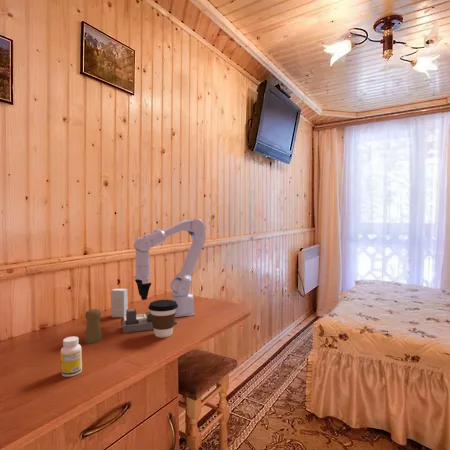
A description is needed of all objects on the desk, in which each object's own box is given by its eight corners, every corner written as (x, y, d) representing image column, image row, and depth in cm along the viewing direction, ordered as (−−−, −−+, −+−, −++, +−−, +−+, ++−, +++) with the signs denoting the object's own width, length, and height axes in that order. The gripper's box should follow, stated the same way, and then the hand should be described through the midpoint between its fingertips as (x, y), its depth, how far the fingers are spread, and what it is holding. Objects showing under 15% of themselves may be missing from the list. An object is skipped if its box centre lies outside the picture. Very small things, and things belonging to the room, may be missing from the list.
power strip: (175, 320, 138) (175, 307, 138) (179, 326, 132) (178, 312, 131) (122, 327, 131) (122, 313, 131) (123, 332, 124) (123, 318, 124)
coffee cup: (183, 332, 125) (183, 301, 124) (165, 342, 115) (165, 308, 115) (161, 327, 130) (161, 297, 129) (142, 336, 120) (142, 304, 120)
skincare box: (128, 314, 147) (127, 288, 147) (124, 317, 143) (123, 290, 142) (115, 314, 148) (114, 288, 147) (111, 317, 143) (110, 290, 143)
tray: (145, 316, 144) (145, 314, 144) (146, 321, 137) (146, 318, 137) (123, 318, 141) (123, 316, 141) (124, 324, 134) (124, 321, 134)
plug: (126, 327, 130) (126, 308, 129) (135, 325, 131) (135, 307, 131) (126, 330, 126) (126, 311, 126) (136, 328, 127) (136, 310, 127)
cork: (106, 338, 119) (105, 308, 119) (94, 344, 113) (93, 313, 113) (92, 336, 121) (92, 306, 121) (80, 342, 115) (80, 311, 115)
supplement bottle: (65, 368, 95) (65, 335, 95) (84, 367, 96) (84, 335, 96) (57, 377, 90) (57, 342, 90) (78, 376, 91) (77, 342, 90)
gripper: (131, 263, 144) (131, 294, 145) (134, 269, 131) (135, 302, 131) (147, 262, 147) (147, 292, 147) (152, 267, 133) (152, 300, 134)
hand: (143, 297), depth 139 cm, fingers open, 7 cm apart
